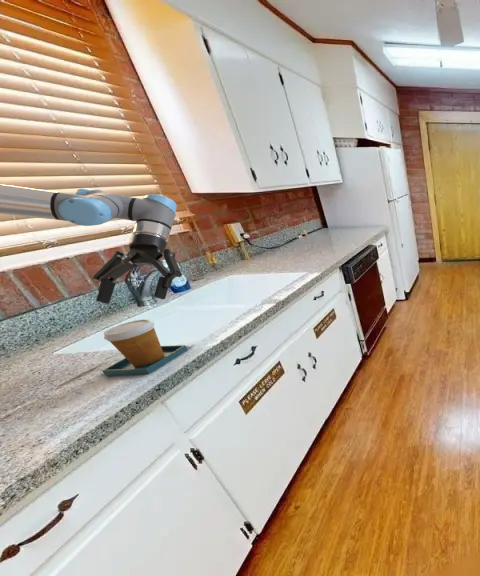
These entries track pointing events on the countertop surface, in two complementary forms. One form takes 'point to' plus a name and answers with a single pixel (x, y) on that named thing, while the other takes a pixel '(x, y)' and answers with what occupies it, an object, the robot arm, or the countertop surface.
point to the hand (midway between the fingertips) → (131, 300)
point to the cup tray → (128, 369)
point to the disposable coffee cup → (136, 342)
